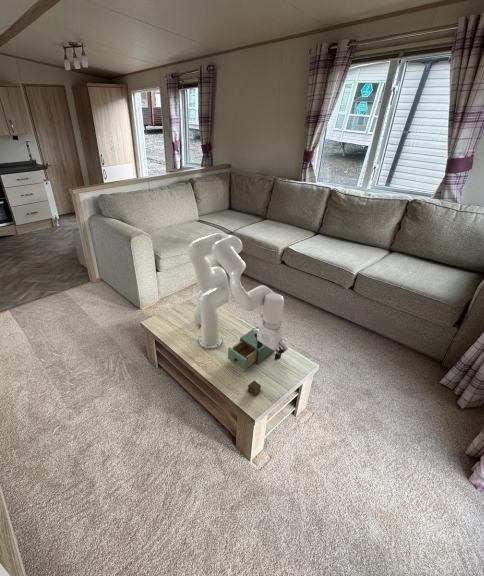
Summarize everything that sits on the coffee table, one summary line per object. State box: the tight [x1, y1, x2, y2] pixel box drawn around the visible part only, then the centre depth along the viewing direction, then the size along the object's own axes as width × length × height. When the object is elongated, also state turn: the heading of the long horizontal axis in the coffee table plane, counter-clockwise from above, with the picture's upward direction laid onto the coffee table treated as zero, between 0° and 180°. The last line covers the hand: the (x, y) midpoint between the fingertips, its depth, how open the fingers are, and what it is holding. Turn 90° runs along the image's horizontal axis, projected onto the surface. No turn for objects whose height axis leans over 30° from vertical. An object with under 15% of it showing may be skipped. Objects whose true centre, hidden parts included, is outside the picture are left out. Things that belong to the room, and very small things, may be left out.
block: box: [247, 380, 262, 397], centre depth 135 cm, size 4×4×4 cm
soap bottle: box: [192, 289, 219, 326], centre depth 173 cm, size 17×12×29 cm
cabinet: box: [239, 326, 276, 365], centre depth 156 cm, size 14×13×9 cm
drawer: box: [227, 341, 258, 372], centre depth 150 cm, size 14×11×7 cm
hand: (268, 353), depth 131 cm, fingers open, 9 cm apart
